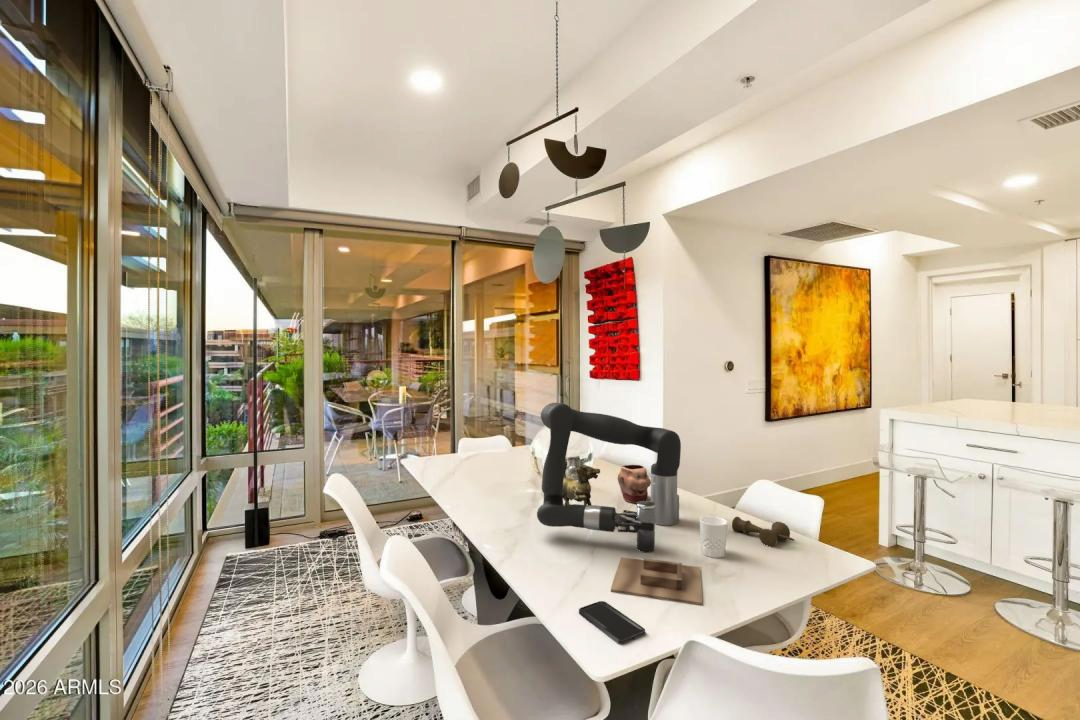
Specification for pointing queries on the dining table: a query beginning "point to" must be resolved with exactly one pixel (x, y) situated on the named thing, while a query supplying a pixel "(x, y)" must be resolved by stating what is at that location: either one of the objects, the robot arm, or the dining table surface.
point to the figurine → (579, 485)
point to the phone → (612, 622)
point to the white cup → (713, 536)
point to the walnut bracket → (658, 580)
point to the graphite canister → (648, 516)
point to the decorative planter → (634, 483)
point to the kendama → (763, 531)
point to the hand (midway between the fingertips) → (654, 523)
